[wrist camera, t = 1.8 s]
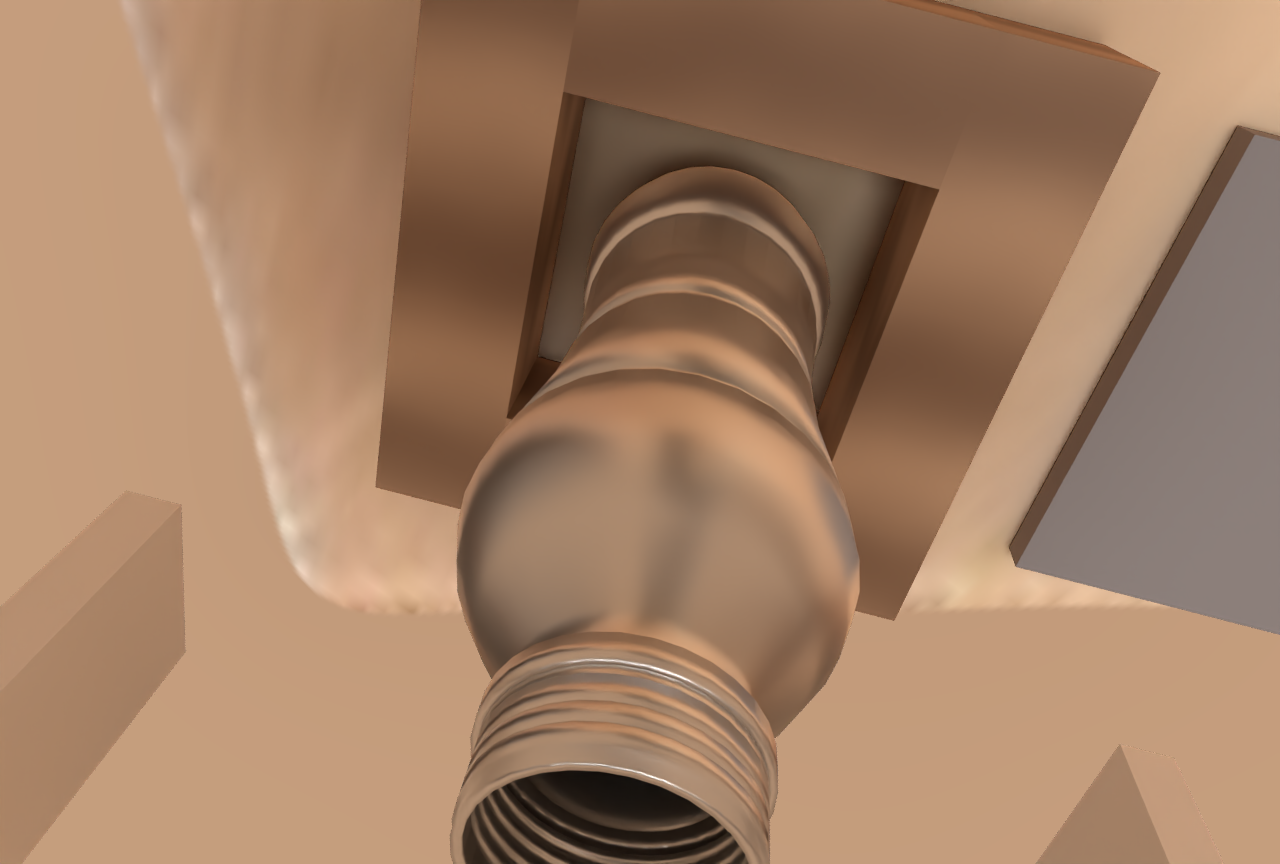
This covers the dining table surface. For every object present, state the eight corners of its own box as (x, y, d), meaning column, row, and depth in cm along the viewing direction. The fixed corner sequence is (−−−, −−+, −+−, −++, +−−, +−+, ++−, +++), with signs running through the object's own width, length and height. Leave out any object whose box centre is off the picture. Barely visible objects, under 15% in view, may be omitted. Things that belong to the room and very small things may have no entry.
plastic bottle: (681, 398, 30) (555, 1083, 13) (556, 220, 28) (198, 772, 11) (866, 300, 28) (1014, 979, 11) (748, 97, 25) (690, 548, 8)
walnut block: (482, -118, 24) (432, -118, 20) (1104, 45, 24) (1160, 72, 20) (418, 421, 32) (375, 487, 28) (881, 541, 32) (894, 620, 28)
